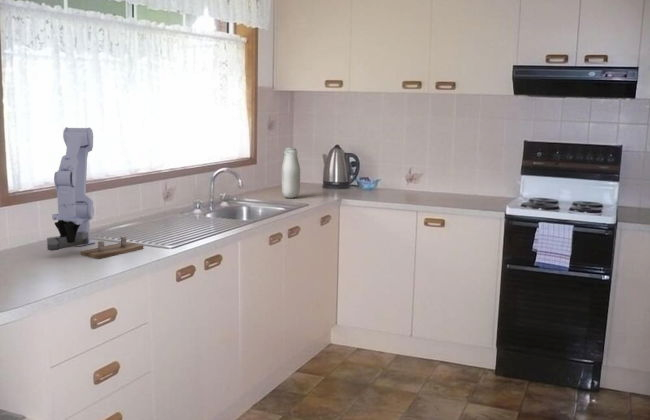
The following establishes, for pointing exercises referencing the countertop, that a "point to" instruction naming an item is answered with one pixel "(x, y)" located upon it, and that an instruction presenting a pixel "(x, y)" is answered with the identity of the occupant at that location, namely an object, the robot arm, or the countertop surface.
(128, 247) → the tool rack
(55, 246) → the dark grey bar
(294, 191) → the glass bottle
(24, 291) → the countertop surface
